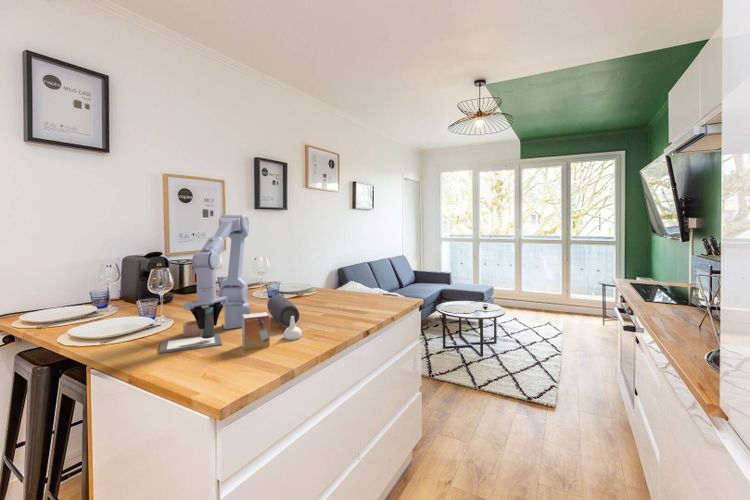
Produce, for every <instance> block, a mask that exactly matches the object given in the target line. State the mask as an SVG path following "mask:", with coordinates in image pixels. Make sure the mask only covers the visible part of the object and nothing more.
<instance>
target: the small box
mask: <svg viewBox="0 0 750 500" xmlns="http://www.w3.org/2000/svg"><path fill="white" fill-rule="evenodd" d="M241 328H242V329H241V331H242V333H241V334H242V335H241V336H242V347H243V350H245V351H246V350H251V349H252V350H253V349H263V348H269V347H270V346H271V345H270V343H271V342H270V341H271V340H270V339H271V338H270V337H271V335H270V334H271V333H270V332H271V330H270V315H269V314H268V312H267V311H265V312H256V313H250V314H243V315H242V327H241Z"/></svg>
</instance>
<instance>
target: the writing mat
mask: <svg viewBox="0 0 750 500" xmlns="http://www.w3.org/2000/svg"><path fill="white" fill-rule="evenodd" d="M218 346H223V344H222V338H221V334H220V332H219V333H214V337H212V338H207V339H203V338H201V335H199V336H193V337H187V336H185V337H181V338H180V337H179V338H174V339H172V338H171V339H163V340H161V343H160V346H159V349H158V350H159V351H158V355H163V354H170V353H177V352H183V351H191V350H197V349H203V348H211V347H218Z"/></svg>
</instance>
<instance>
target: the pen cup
mask: <svg viewBox="0 0 750 500" xmlns="http://www.w3.org/2000/svg"><path fill="white" fill-rule="evenodd" d="M182 328H183V331H182V332H183V336H184V337H194V336H201V329H199V328H198V325H197V322H196V319H195V320H190V321H186V322H183V325H182Z"/></svg>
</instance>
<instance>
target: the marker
mask: <svg viewBox="0 0 750 500" xmlns="http://www.w3.org/2000/svg"><path fill="white" fill-rule="evenodd" d="M202 308H203V309H205V314H204V329H201V335H200V336H201V338H203V339H207V338H212V337H214V334H215V326H214V307H212V306H203V307H202Z"/></svg>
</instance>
